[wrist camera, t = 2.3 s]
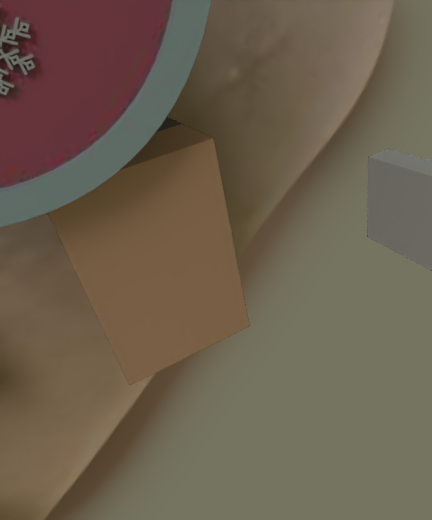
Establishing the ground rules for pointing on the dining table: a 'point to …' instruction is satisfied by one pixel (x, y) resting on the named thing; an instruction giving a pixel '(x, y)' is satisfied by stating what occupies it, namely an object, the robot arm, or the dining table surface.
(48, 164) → the mug
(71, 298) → the dining table surface
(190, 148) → the plug
